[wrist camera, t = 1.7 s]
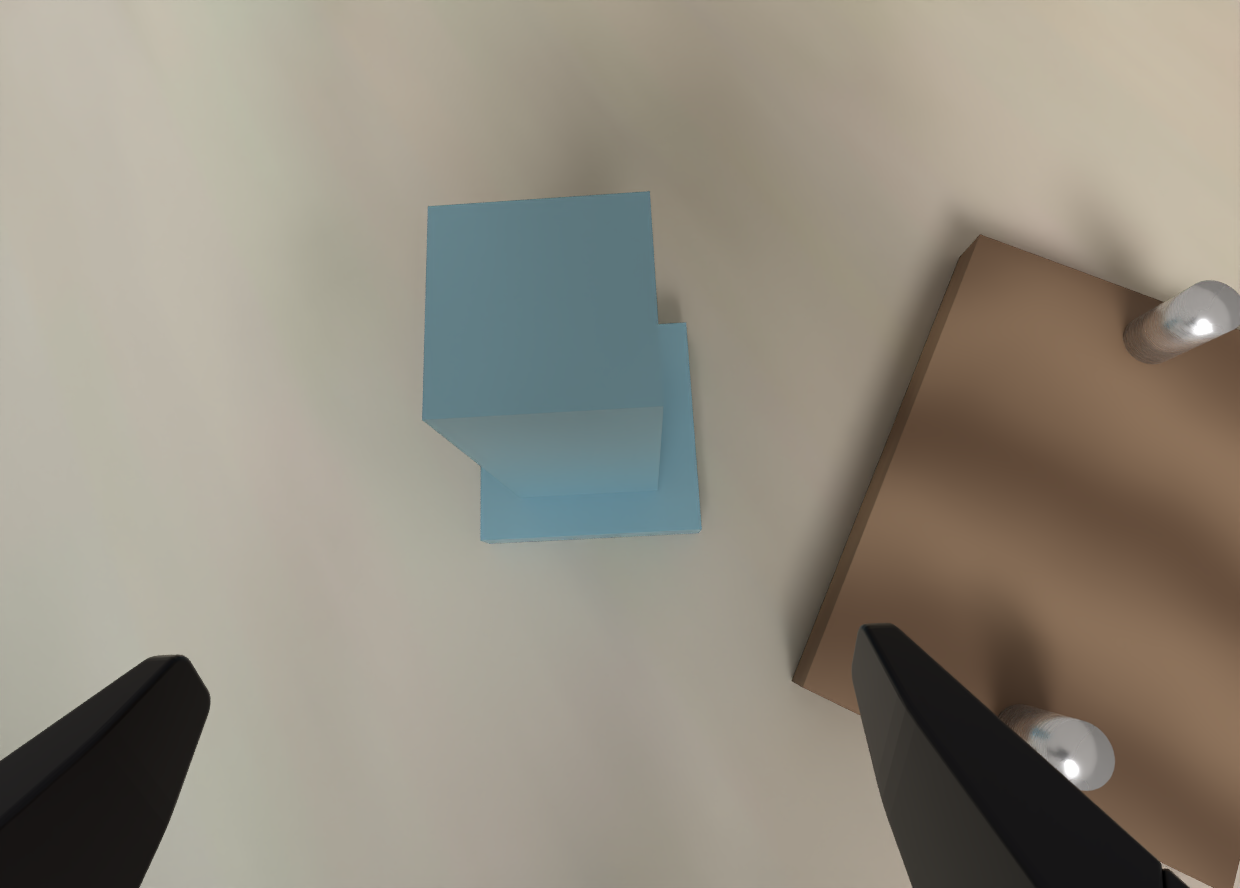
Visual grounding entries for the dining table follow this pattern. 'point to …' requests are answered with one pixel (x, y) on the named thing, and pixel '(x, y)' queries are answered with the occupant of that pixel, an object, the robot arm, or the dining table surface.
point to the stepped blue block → (559, 368)
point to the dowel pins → (1152, 342)
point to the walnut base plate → (1066, 539)
